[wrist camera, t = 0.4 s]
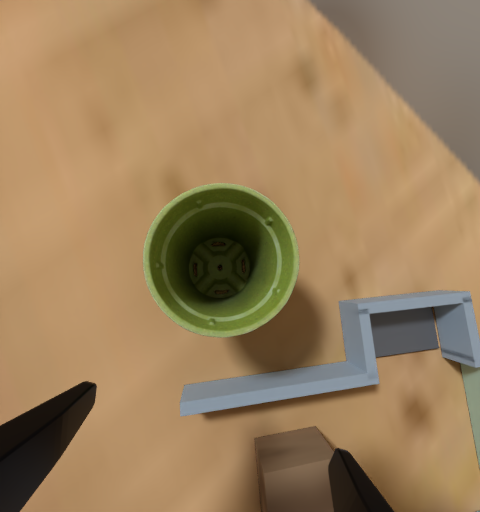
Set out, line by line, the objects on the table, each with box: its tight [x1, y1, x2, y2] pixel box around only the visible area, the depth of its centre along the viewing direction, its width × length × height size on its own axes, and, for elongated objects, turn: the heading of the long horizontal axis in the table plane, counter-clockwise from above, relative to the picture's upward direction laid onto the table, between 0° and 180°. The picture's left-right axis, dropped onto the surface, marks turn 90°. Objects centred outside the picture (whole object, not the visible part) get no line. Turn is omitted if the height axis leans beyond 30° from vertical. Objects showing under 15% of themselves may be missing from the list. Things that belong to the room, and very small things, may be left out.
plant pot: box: [143, 183, 299, 337], centre depth 18 cm, size 9×9×9 cm
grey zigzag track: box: [180, 290, 480, 512], centre depth 20 cm, size 29×30×3 cm
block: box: [254, 426, 334, 512], centre depth 19 cm, size 6×6×4 cm
